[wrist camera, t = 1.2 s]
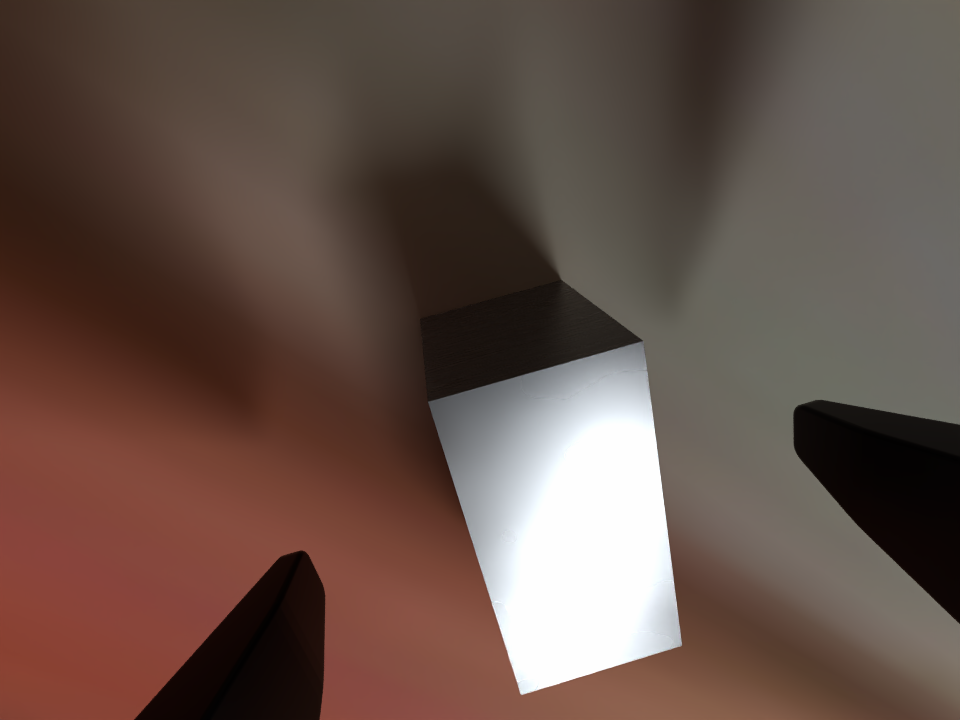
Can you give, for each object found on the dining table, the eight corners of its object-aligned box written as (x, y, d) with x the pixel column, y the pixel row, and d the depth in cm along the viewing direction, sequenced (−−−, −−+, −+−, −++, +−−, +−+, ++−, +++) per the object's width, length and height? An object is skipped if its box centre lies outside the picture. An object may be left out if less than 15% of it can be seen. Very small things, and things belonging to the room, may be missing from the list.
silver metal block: (560, 279, 11) (643, 340, 7) (602, 506, 13) (682, 645, 9) (419, 317, 10) (427, 402, 7) (487, 540, 13) (521, 695, 9)
